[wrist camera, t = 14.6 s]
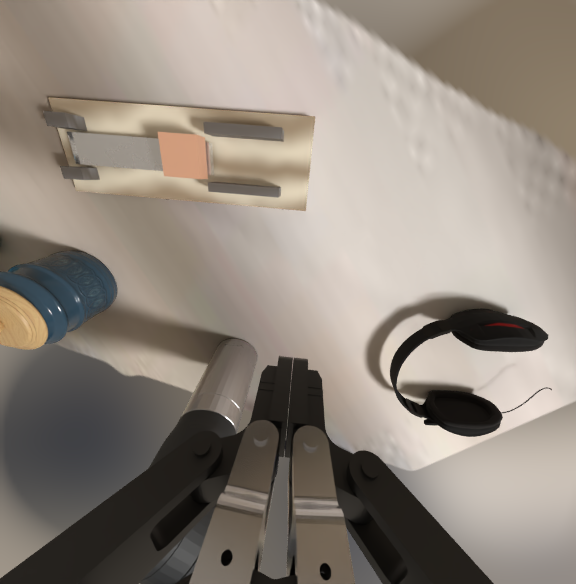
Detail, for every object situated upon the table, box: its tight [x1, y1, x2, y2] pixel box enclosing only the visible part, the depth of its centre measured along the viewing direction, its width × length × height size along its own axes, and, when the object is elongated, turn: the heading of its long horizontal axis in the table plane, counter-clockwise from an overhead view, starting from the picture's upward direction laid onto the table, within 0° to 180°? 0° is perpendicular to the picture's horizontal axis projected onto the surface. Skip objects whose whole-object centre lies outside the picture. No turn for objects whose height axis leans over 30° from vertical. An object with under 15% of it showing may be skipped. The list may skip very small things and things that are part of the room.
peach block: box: [158, 132, 208, 179], centre depth 32 cm, size 5×5×3 cm
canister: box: [0, 251, 117, 349], centre depth 40 cm, size 13×13×18 cm
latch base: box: [43, 97, 315, 211], centre depth 34 cm, size 12×37×5 cm, turn 86°
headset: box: [390, 309, 552, 437], centre depth 46 cm, size 28×26×9 cm
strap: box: [67, 132, 214, 175], centre depth 34 cm, size 4×21×1 cm, turn 86°
